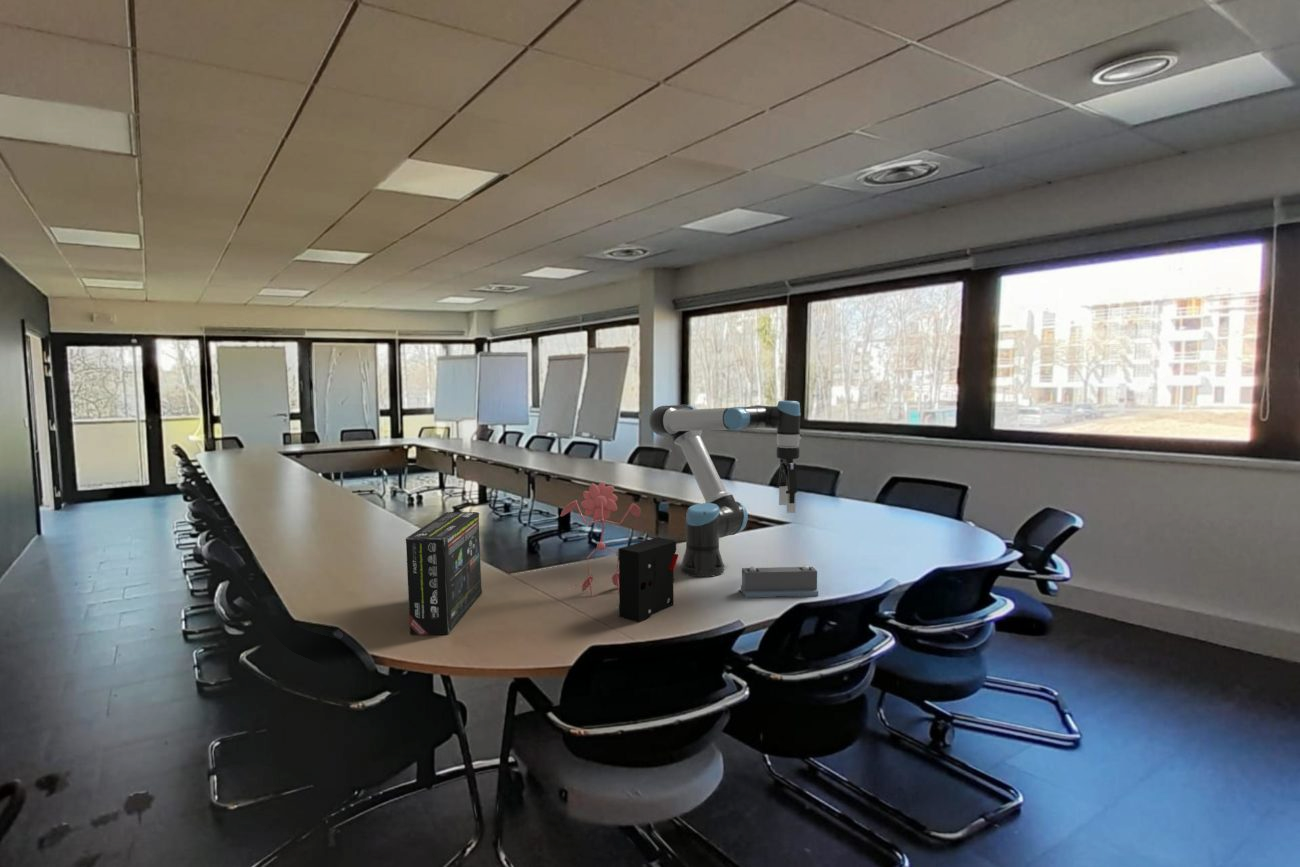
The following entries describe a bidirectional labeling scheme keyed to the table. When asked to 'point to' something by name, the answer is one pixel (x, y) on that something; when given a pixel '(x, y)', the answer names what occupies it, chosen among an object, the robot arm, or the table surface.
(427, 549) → the router box
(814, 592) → the mounting plate
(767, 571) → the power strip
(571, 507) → the pink flower figurine
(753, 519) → the table surface
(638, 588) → the electrical component
